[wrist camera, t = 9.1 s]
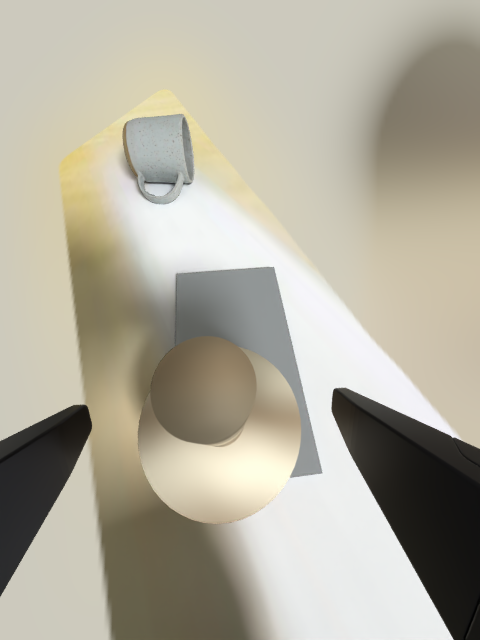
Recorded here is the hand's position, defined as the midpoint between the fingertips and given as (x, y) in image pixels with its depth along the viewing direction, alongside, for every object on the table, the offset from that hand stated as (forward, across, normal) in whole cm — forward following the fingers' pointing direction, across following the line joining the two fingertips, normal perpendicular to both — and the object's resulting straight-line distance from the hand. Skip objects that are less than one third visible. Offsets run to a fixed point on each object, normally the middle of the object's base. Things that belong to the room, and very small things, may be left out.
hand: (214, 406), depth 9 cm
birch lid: (+6, 0, +5) cm, 8 cm away
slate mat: (+13, -1, +4) cm, 14 cm away
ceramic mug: (+33, +7, -16) cm, 37 cm away
